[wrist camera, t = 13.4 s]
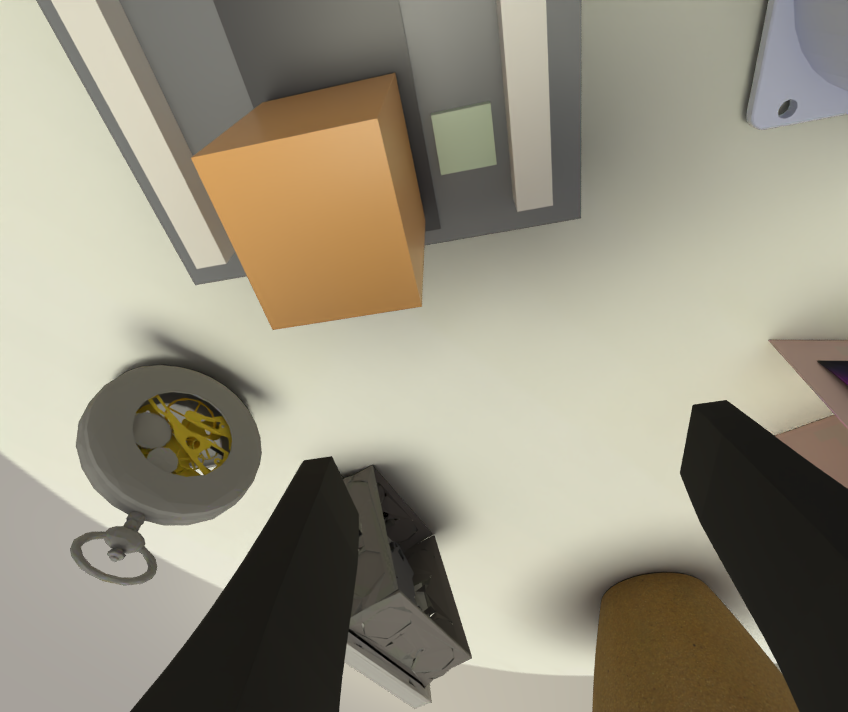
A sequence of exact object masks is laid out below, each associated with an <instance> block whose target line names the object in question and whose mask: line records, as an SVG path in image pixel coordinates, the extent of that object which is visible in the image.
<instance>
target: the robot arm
mask: <svg viewBox="0 0 848 712" xmlns="http://www.w3.org/2000/svg"><path fill="white" fill-rule="evenodd" d="M788 100H790V105H789V107H788V109H787V110H786V111H785V112H784V113H783V114H781V115H779V116H778V110H779V108H780V106H781V105H782V104H783V103H784V102H785V101H788ZM845 114H848V0H769V1H768V6H767V11H766V16H765V21H764V27H763V32H762V37H761V42H760V47H759V52H758V57H757V62H756V67H755V73H754V78H753V83H752V88H751V93H750V98H749V103H748V108H747V121H748V123H749V125H751V126H753V127H755V128H757V129H761V130H765V129H771V128H776V127H781V126H787V125H792V124H797V123H803V122H808V121H813V120H819V119H824V118H829V117H835V116H840V115H845ZM680 475H681V477H682V480H683V482H684V485H685V487H686V490H687V492H688V495H689V497H690V500H691V502H692V505H693V507H694V509H695V512H696V514H697V516H698V519H699V521H700V523H701V525H702V527H703V529H704V531H705V532H706V534H707V536H708V538H709V540H710V542H711V543H712V545H713V547H714V549H715V551H716V552H717V554H718V556H719V558H720V560H721V561H722V563H723V565H724V567H725V569H726V570H727V572H728V574H729V576H730V578H731V579H732V581H733V583H734V585H735V586H736V588H737V590H738V592H739V594H740V595H741V597H742V599H743V601H744V602H745V604H746V606H747V608H748V610H749V611H750V613H751V615H752V617H753V618H754V620H755V622H756V624H757V626H758V627H759V629H760V631H761V633H762V634H763V636H764V638H765V640H766V642H767V644H768V646H769V648H770V650H771V652H772V654H773V656H774V658H775V659H776V661H777V663H778V665H779V667H780V670H781V672H782V674H783V676H784V679H785V681H786V683H787V685H788V687H789V690H790V692H791V694H792V696H793V699H794V701H795V703H796V705H797V707H798V710H799V712H848V488H846V487H845V486H843V485H842V484H841V483H839V482H838V481H836V480H835V479H833V478H832V477H831V476H829V475H828V474H826V473H825V472H823V471H822V470H821V469H819V468H818V467H816V466H815V465H814V464H812V463H811V462H809V461H808V460H807V459H805V458H804V457H802V456H801V455H800V454H798V453H797V452H796V451H794V450H793V449H792V448H790V447H789V446H788V445H786V444H785V443H783V442H782V441H781V440H779V439H778V438H777V437H775V436H774V435H773V434H771V433H770V432H769V431H767V430H766V429H765V428H763V427H762V426H761V425H759V424H758V423H757V422H755V421H754V420H753V419H751V418H750V417H748V416H747V415H746V414H744V413H743V412H742V411H740V410H739V409H738V408H736V407H735V406H734V405H732V404H731V403H730V402H728V401H727V400H723V401H716V402H709V403H702V404H695V405H693V406H692V412H691V417H690V422H689V428H688V433H687V438H686V444H685V449H684V454H683V459H682V465H681V470H680ZM358 546H359V513H358V511H357V509H356V507H355V505H354V503H353V500H352V498H351V496H350V494H349V492H348V490H347V487H346V485H345V483H344V481H343V479H342V477H341V475H340V472H339V470H338V468H337V466H336V464H335V462H334V460H333V457H332V456H331V457H324V458H317V459H310V460H304V461H303V463H302V464H301V465H300V467H299V469H298V470H297V472H296V474H295V476H294V477H293V479H292V481H291V482H290V484H289V486H288V488H287V489H286V491H285V493H284V495H283V496H282V498H281V500H280V501H279V503H278V505H277V506H276V508H275V510H274V512H273V513H272V515H271V517H270V518H269V520H268V522H267V523H266V525H265V527H264V528H263V530H262V531H261V533H260V535H259V536H258V538H257V539H256V541H255V543H254V544H253V546H252V547H251V549H250V551H249V552H248V554H247V555H246V557H245V559H244V560H243V562H242V563H241V565H240V566H239V568H238V569H237V571H236V572H235V574H234V575H233V577H232V578H231V580H230V581H229V583H228V584H227V586H226V587H225V588H224V590H223V591H222V593H221V594H220V596H219V597H218V599H217V600H216V602H215V603H214V605H213V606H212V608H211V609H210V611H209V612H208V613H207V615H206V616H205V617H204V619H203V620H202V621H201V623H200V624H199V626H198V627H197V628H196V630H195V631H194V632H193V634H192V635H191V637H190V638H189V639H188V640H187V642H186V643H185V644H184V646H183V647H182V648H181V650H180V651H179V652H178V653H177V655H176V656H175V657H174V659H173V660H172V661H171V662H170V664H169V665H168V666H167V668H166V669H165V670H164V671H163V672H162V674H161V675H160V676H159V678H158V679H157V680H156V681H155V682H154V683H153V685H152V686H151V687H150V688H149V689H148V691H147V692H146V693H145V694H144V695H143V697H142V698H141V699H140V700H139V701H138V703H137V704H136V705H135V706H134V708H133V709H132V710H131V711H130V712H339V705H340V693H341V684H342V675H343V668H344V661H345V654H346V647H347V639H348V632H349V625H350V618H351V611H352V604H353V597H354V589H355V582H356V574H357V566H358Z"/></svg>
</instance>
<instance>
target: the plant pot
mask: <svg viewBox="0 0 848 712" xmlns="http://www.w3.org/2000/svg"><path fill="white" fill-rule="evenodd" d="M593 686H594V687H593V711H592V712H799V710H798V707H797V705H796V703H795V701H794V699H793V696H792V694H791V692H790V690H789V687H788V685H787V683H786V681H785V679H784V676H783V675H782V673H781V672H780V671H779V670H778V669H777V667H776V666H775V665H774V663H773V662H772V661H771V660H770V658H769V657H768V656H767V655H766V653H765V652H764V651H763V650H762V648H761V647H760V646H759V645H758V643H757V642H756V641H755V640H754V639H753V637H752V636H751V635H750V634H749V633H748V632H747V630H746V629H745V628H744V627H743V626H742V624H741V623H740V622H739V621H738V620H737V619H736V617H735V616H734V615H733V614H732V613H731V612H730V611H729V609H728V608H727V607H726V606H725V605H724V604H723V603H722V602H721V600H720V599H719V598H718V597H717V596H716V595H715V594H714V593H713V591H712V590H711V589H710V588H709V587H708V586H707V585H706V584H705V583H704V582H702V581H701V580H699V579H697V578H695V577H692V576H689V575H685V574H679V573H652V574H645V575H640V576H636V577H633V578H629V579H627V580H624V581H622V582H620V583H618V584H616V585H614V586H613V587H611V588H610V589H609V590H608V591H607V592H606V593H605V594H604V596H603V598H602V601H601V608H600V615H599V624H598V633H597V643H596V654H595V669H594V685H593Z"/></svg>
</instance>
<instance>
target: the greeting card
mask: <svg viewBox="0 0 848 712" xmlns="http://www.w3.org/2000/svg"><path fill="white" fill-rule="evenodd" d="M769 342H770V343H771V344H772V345H773V346H774V347H775V348H776V350H777V351H778V352H779V353H780V354H781V355H782V356H783V357H784V358H785V360H786V361H787V362H788V363H789V364H790V365H791V366H792V367H793V369H794V370H795V371H796V372H797V373H798V374H799V375H800V376H801V377H802V379H803V380H804V381H805V382H806V383H807V384H808V385H809V386H810V388H811V389H812V390H813V391H814V392H815V393H816V394H817V395H818V396H819V398H820V399H821V400H822V401H823V402H824V403H825V404H826V405H827V407H828V408H829V409H830V410H831V411H832V412H833V413H834V414H835V415H833V416H830V417H827V418H824V419H821V420H819V421H816V422H813V423H810V424H807V425H804V426H802V427H799V428H796V429H793V430H790V431H787V432H785V433H782V434H779V435H776V436H775V437H777V438H778V439H779V440H781V441H782V442H783V443H785V444H786V445H788V446H789V447H790V448H792V449H793V450H794V451H796V452H797V453H798V454H800V455H801V456H802V457H804V458H805V459H807V460H808V461H809V462H811V463H812V464H814V465H815V466H816V467H818V468H819V469H821V470H822V471H823V472H825V473H826V474H828V475H829V476H831V477H832V478H833V479H835V480H836V481H838V482H839V483H841V484H842V485H843V486H845V487H846V488H848V340H769Z"/></svg>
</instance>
